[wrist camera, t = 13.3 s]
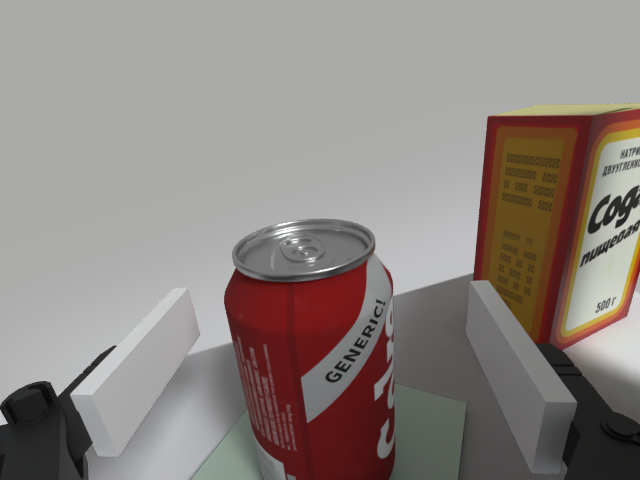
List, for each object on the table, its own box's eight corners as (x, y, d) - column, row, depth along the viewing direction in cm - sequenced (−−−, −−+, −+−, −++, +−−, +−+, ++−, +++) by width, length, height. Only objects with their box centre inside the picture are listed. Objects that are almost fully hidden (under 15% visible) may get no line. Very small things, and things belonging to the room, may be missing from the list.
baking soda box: (545, 282, 33) (577, 99, 27) (626, 316, 27) (689, 94, 21) (470, 312, 29) (488, 110, 23) (545, 358, 24) (594, 107, 18)
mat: (157, 529, 16) (155, 524, 16) (291, 358, 26) (290, 354, 25) (431, 710, 10) (431, 703, 10) (466, 407, 20) (466, 402, 20)
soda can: (275, 559, 14) (216, 304, 10) (255, 424, 20) (213, 230, 16) (422, 498, 16) (429, 256, 11) (362, 390, 22) (352, 206, 17)
